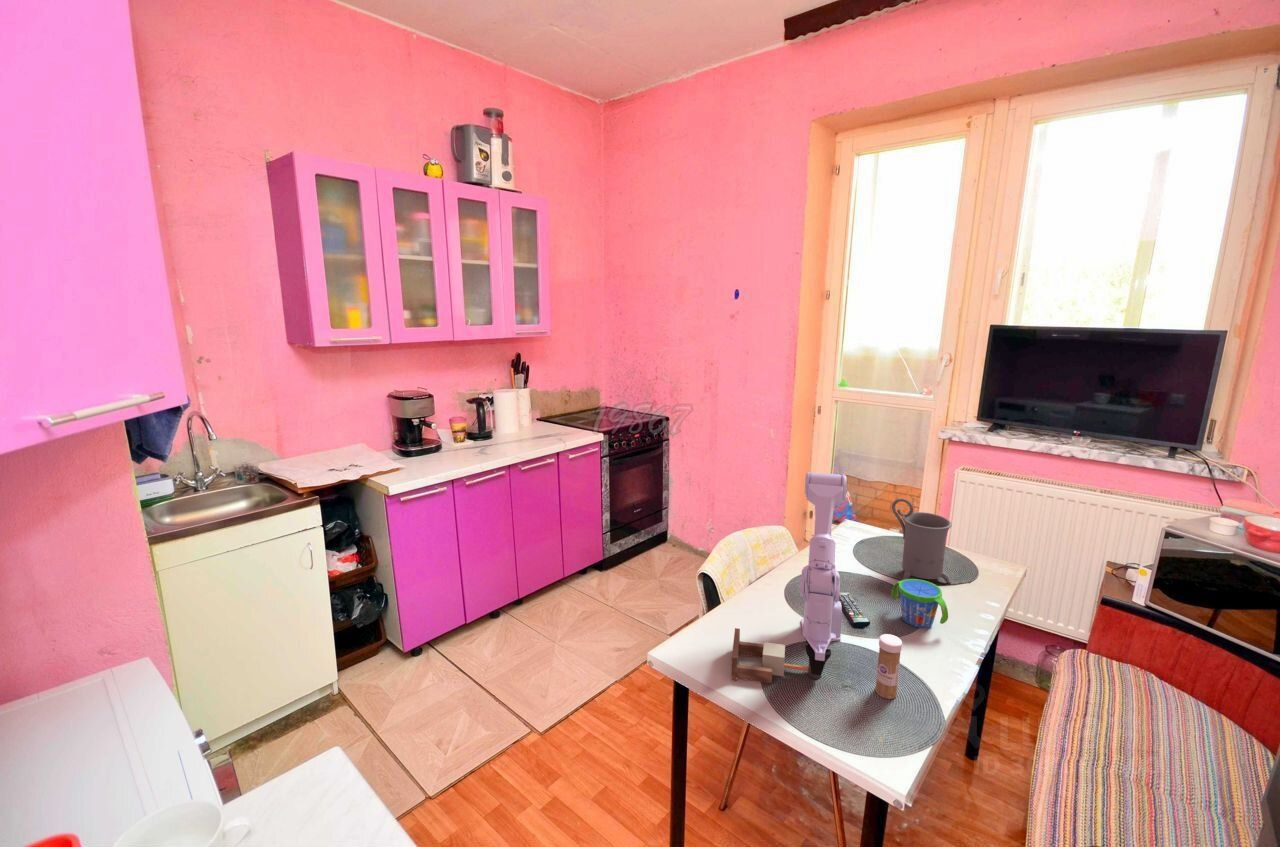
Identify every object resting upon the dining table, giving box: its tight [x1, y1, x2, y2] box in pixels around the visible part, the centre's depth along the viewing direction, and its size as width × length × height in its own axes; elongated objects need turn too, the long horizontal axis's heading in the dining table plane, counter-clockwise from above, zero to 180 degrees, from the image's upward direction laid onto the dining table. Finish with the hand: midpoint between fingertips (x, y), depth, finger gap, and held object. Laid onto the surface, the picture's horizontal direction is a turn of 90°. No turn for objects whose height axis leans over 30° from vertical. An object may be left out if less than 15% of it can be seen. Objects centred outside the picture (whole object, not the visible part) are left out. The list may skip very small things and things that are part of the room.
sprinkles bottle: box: [874, 633, 903, 700], centre depth 119 cm, size 5×5×13 cm
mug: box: [891, 498, 953, 585], centre depth 170 cm, size 19×15×25 cm
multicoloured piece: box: [761, 641, 822, 680], centre depth 128 cm, size 14×5×6 cm, turn 74°
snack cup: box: [891, 578, 949, 628], centre depth 147 cm, size 16×10×10 cm
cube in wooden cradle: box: [730, 627, 773, 684], centre depth 130 cm, size 9×12×6 cm
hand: (815, 668), depth 127 cm, fingers closed on multicoloured piece, 3 cm apart
